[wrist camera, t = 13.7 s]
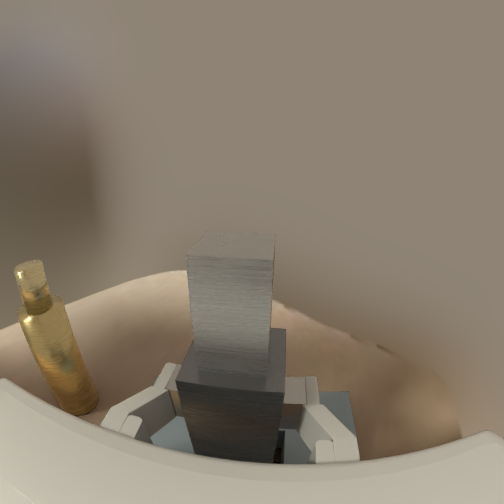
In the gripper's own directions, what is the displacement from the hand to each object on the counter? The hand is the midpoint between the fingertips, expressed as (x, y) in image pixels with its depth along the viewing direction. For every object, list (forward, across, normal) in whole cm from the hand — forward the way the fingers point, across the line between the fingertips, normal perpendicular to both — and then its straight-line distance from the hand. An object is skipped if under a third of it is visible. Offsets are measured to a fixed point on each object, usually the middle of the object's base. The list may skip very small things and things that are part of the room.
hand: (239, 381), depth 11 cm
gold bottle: (+2, +14, +9) cm, 17 cm away
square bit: (-1, 0, +8) cm, 8 cm away
